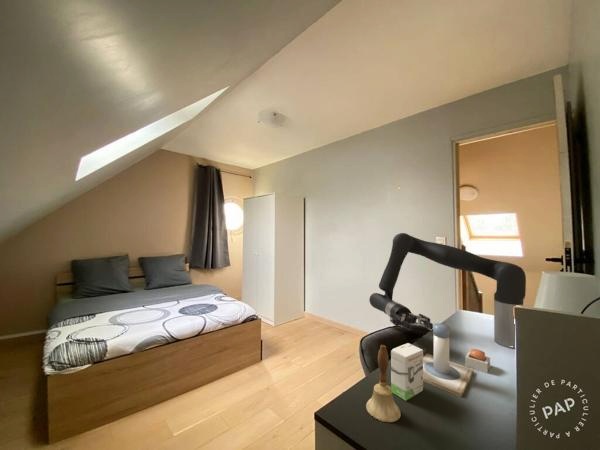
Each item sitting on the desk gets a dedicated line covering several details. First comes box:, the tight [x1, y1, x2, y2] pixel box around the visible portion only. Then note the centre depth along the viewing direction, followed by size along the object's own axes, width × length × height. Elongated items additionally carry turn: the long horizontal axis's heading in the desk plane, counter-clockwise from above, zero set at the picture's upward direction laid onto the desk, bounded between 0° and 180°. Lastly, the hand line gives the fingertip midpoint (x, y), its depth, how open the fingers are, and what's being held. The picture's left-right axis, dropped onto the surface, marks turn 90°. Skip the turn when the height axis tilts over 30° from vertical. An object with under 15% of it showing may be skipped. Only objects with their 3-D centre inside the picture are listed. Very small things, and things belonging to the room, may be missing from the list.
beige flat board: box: [423, 353, 474, 398], centre depth 78 cm, size 17×14×1 cm
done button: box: [469, 348, 486, 360], centre depth 83 cm, size 4×4×2 cm
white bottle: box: [432, 322, 451, 374], centre depth 78 cm, size 5×5×14 cm
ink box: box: [390, 342, 424, 402], centre depth 69 cm, size 9×5×12 cm, turn 123°
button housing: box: [464, 350, 491, 374], centre depth 83 cm, size 6×6×3 cm
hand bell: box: [365, 344, 402, 423], centre depth 62 cm, size 8×8×16 cm
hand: (421, 327), depth 89 cm, fingers open, 8 cm apart
